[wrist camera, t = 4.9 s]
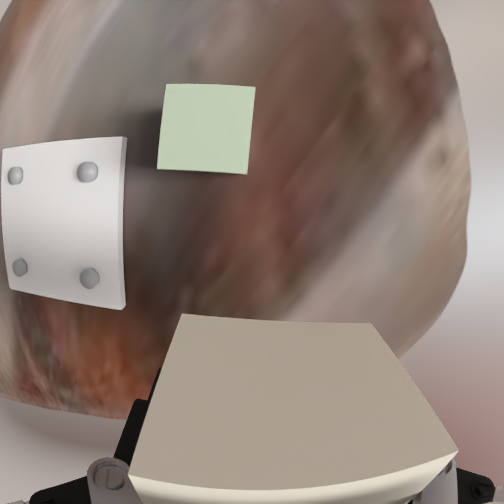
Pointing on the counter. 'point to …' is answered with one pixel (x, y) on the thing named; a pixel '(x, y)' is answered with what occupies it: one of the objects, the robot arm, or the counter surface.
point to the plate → (65, 219)
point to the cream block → (285, 418)
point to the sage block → (206, 128)
